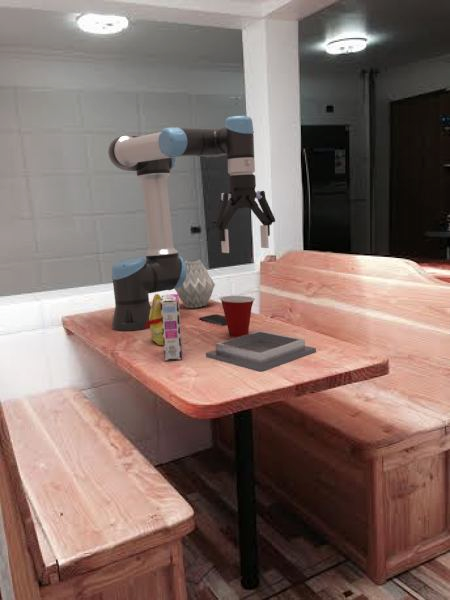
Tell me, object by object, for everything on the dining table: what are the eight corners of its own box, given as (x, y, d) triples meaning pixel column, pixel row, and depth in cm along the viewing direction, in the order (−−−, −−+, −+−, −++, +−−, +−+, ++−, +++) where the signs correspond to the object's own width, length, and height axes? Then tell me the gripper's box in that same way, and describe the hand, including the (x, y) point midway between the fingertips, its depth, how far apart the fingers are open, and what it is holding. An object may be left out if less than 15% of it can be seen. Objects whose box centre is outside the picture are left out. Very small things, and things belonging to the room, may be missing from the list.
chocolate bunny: (163, 337, 169) (159, 290, 167) (174, 344, 160) (170, 295, 157) (142, 340, 167) (137, 293, 164) (152, 348, 157) (148, 298, 154)
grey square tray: (206, 356, 145) (205, 344, 145) (260, 339, 159) (259, 328, 158) (261, 371, 130) (260, 357, 129) (315, 351, 143) (315, 339, 143)
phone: (215, 314, 195) (240, 319, 183) (216, 317, 195) (241, 323, 183) (197, 317, 191) (222, 324, 179) (197, 321, 191) (222, 327, 179)
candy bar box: (183, 360, 143) (178, 300, 140) (164, 361, 143) (159, 301, 140) (182, 348, 154) (178, 293, 151) (165, 350, 154) (160, 294, 151)
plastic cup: (262, 336, 163) (260, 297, 161) (229, 341, 160) (226, 301, 157) (249, 328, 173) (247, 292, 171) (217, 333, 170) (215, 296, 167)
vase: (224, 304, 216) (221, 258, 212) (194, 312, 204) (191, 264, 201) (196, 300, 227) (193, 257, 223) (167, 308, 215) (163, 262, 212)
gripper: (210, 174, 140) (215, 255, 144) (285, 172, 153) (288, 246, 157) (196, 176, 146) (201, 253, 150) (269, 174, 159) (272, 245, 163)
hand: (245, 250), depth 153 cm, fingers open, 13 cm apart
